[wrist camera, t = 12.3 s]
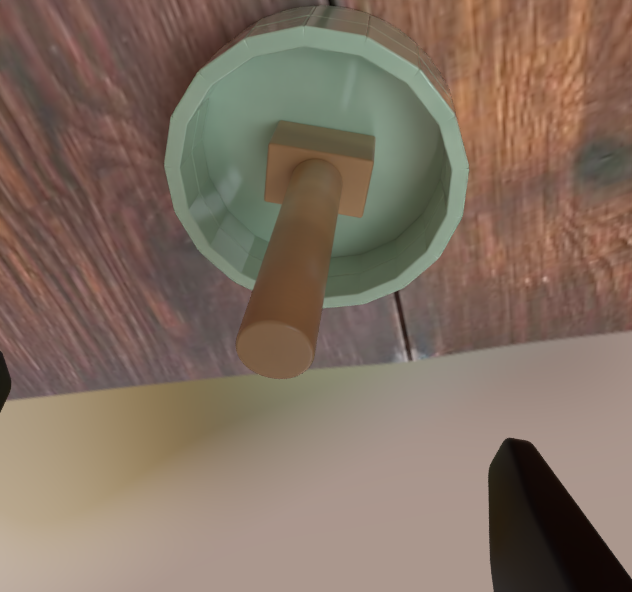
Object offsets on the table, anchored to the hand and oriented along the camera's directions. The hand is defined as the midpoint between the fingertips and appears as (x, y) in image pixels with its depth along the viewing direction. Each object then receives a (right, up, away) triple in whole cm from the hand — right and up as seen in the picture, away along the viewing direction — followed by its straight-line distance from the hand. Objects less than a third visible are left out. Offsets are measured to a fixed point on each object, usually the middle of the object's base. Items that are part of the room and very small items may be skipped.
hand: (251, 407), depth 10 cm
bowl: (+1, +7, +9) cm, 12 cm away
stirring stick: (+1, +7, +9) cm, 11 cm away
